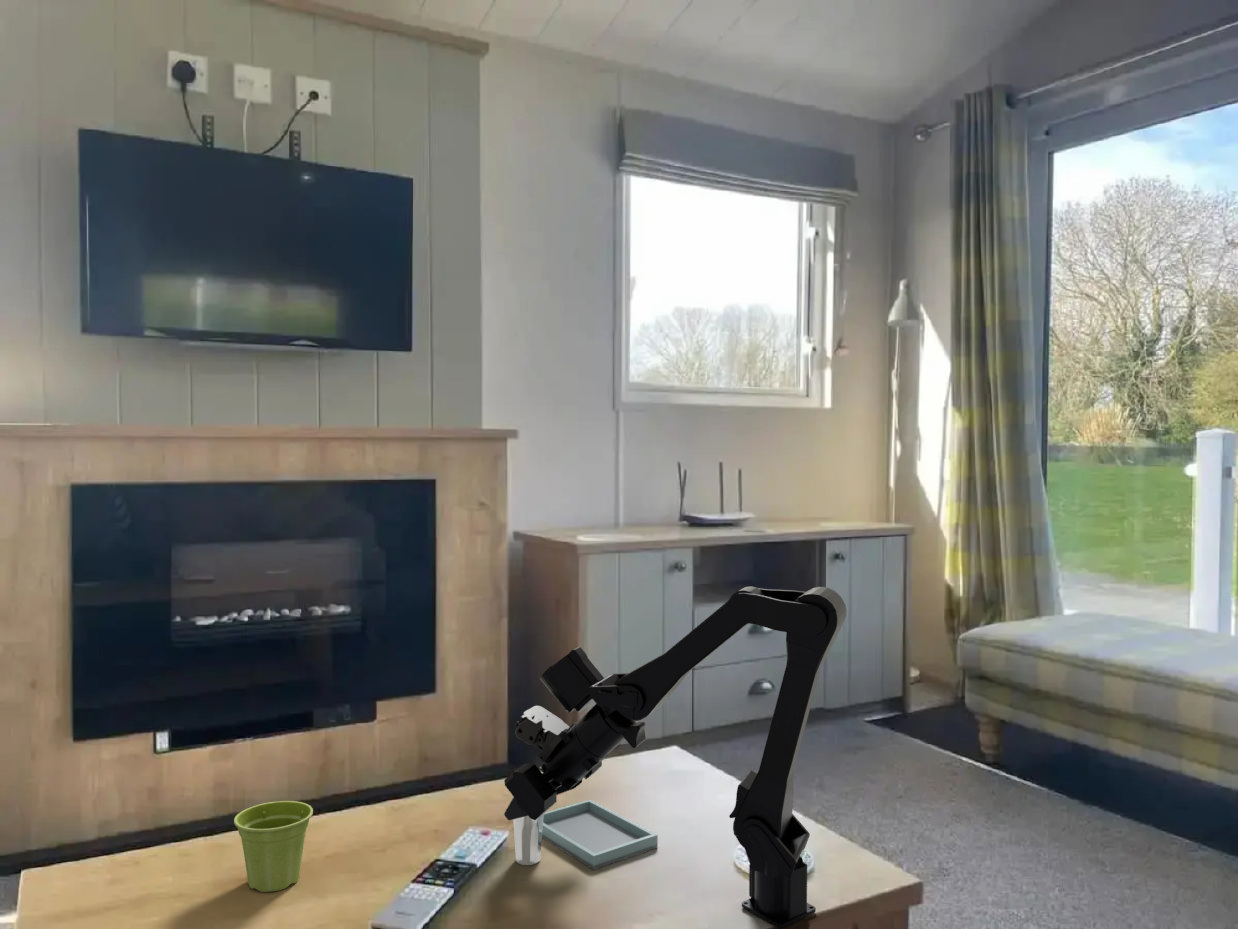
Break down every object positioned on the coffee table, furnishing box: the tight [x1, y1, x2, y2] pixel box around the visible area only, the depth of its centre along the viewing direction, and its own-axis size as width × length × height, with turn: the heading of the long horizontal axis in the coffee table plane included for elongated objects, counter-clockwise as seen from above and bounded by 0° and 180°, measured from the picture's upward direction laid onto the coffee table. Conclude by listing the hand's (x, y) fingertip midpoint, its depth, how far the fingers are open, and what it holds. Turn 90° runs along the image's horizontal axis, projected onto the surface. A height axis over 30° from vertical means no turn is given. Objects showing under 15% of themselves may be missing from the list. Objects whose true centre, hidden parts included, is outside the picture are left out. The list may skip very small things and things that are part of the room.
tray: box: [542, 799, 659, 870], centre depth 131 cm, size 16×11×2 cm
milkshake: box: [511, 797, 544, 866], centre depth 124 cm, size 4×5×10 cm
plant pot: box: [233, 800, 314, 893], centre depth 117 cm, size 9×9×9 cm
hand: (517, 809), depth 124 cm, fingers open, 5 cm apart
